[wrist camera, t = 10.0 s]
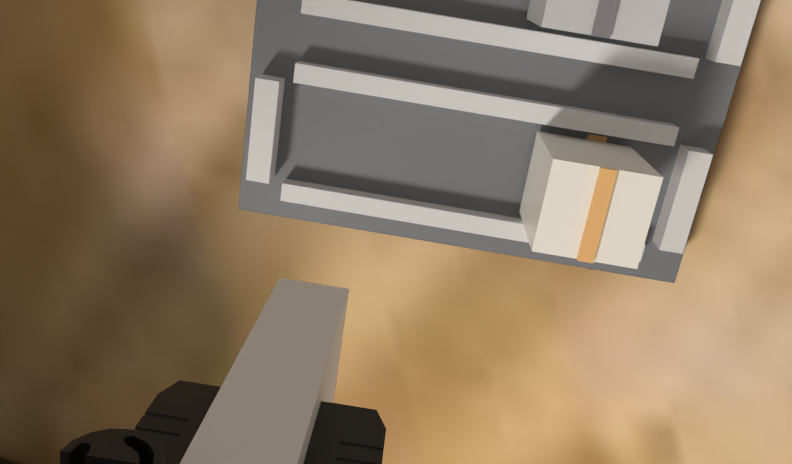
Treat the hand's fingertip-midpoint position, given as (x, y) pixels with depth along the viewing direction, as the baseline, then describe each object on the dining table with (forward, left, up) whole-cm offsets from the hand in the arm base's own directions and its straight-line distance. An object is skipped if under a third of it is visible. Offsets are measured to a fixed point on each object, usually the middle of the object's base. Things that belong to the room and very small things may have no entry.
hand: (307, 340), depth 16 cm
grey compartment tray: (+4, +5, -19) cm, 20 cm away
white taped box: (+9, +1, -17) cm, 19 cm away
